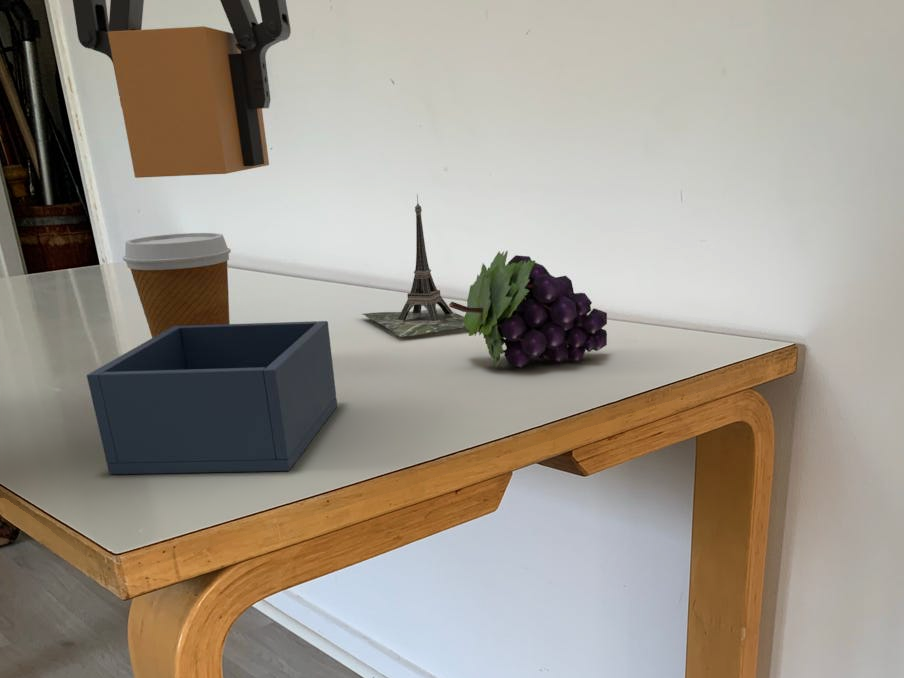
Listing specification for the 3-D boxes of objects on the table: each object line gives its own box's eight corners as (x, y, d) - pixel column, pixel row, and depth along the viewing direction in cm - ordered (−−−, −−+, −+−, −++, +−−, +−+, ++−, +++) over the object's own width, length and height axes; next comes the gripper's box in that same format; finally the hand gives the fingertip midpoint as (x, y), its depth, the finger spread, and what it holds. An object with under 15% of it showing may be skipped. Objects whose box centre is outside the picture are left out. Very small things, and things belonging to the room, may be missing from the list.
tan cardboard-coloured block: (134, 177, 63) (107, 31, 59) (189, 168, 73) (169, 42, 69) (226, 173, 63) (204, 26, 59) (269, 165, 72) (252, 37, 69)
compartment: (109, 474, 68) (86, 374, 64) (188, 410, 82) (173, 325, 79) (289, 471, 67) (275, 369, 63) (337, 406, 81) (327, 320, 78)
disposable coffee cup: (189, 389, 89) (163, 246, 83) (126, 377, 94) (97, 242, 88) (269, 367, 95) (250, 233, 90) (205, 357, 100) (184, 231, 95)
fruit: (605, 398, 91) (452, 374, 86) (570, 356, 99) (428, 332, 94) (642, 288, 86) (480, 255, 81) (601, 253, 94) (452, 221, 89)
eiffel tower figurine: (359, 318, 116) (346, 194, 110) (439, 309, 119) (432, 188, 113) (400, 340, 104) (389, 202, 97) (488, 329, 107) (483, 194, 101)
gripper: (312, -268, 59) (352, 158, 70) (9, -245, 61) (94, 170, 72) (283, -315, 53) (331, 163, 64) (-56, -288, 54) (48, 176, 65)
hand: (206, 166), depth 68 cm, fingers closed on tan cardboard-coloured block, 6 cm apart
